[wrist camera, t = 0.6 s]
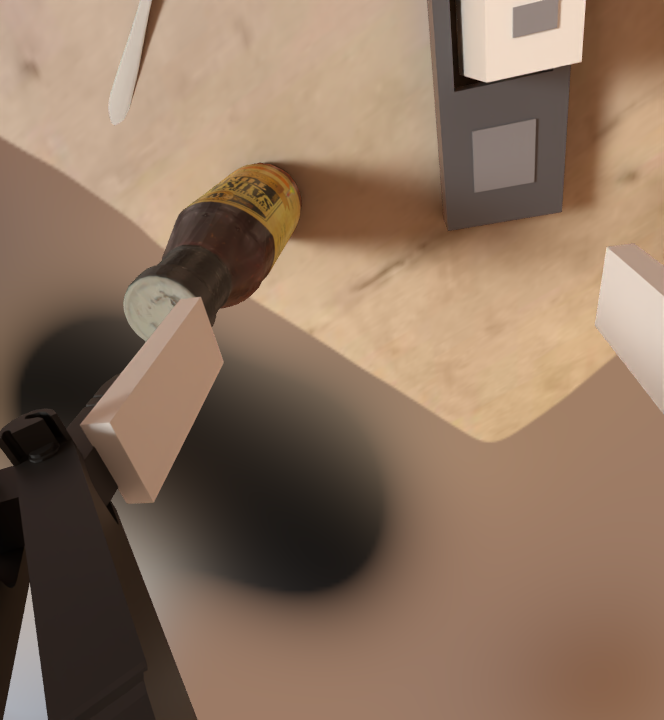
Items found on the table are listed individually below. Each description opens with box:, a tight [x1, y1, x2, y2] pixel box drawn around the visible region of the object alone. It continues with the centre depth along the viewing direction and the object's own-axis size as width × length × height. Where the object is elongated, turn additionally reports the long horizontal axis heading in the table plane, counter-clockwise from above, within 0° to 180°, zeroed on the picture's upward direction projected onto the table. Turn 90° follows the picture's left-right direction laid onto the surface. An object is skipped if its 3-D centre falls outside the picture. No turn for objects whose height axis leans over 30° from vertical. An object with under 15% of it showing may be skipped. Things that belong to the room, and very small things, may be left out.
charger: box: [455, 0, 586, 83], centre depth 26 cm, size 4×4×10 cm
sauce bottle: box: [123, 163, 302, 342], centre depth 30 cm, size 7×6×20 cm
